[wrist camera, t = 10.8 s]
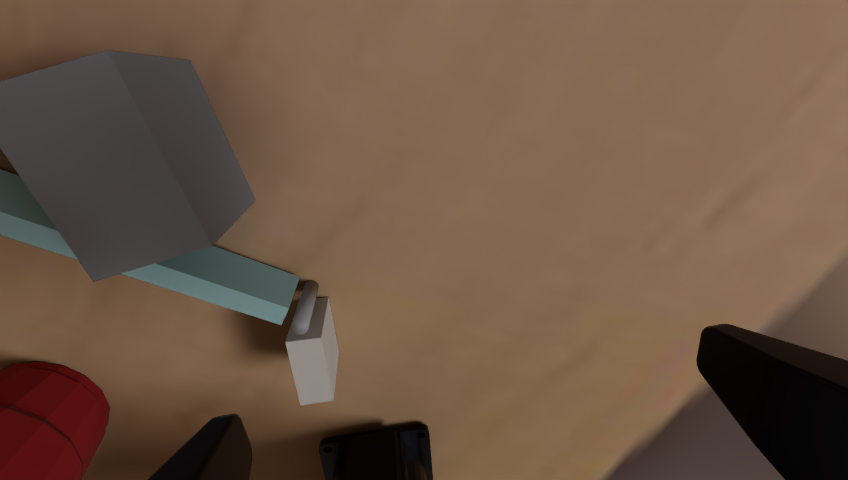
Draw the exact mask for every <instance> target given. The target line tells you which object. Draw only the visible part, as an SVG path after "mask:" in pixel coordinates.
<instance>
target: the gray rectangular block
mask: <svg viewBox="0 0 848 480" xmlns="http://www.w3.org/2000/svg"><path fill="white" fill-rule="evenodd" d="M0 148H1V150H2V151H3V153H4V154H5V156H6V157H7V158H8V160H9V161H10V163H11V164H12V166H13V167H14V169H15V170H16V171H17V173H18V174H19V176H20V177H21V179H22V180H23V181H24V183H25V184H26V186H27V187H28V189H29V190H30V191H31V193H32V194H33V196H34V197H35V199H36V200H37V202H38V203H39V204H40V206H41V207H42V209H43V210H44V212H45V213H46V214H47V216H48V217H49V219H50V220H51V222H52V223H53V224H54V226H55V227H56V229H57V230H58V232H59V233H60V235H61V236H62V237H63V239H64V240H65V242H66V243H67V245H68V246H69V247H70V249H71V250H72V252H73V253H74V255H75V256H76V257H77V259H78V260H79V262H80V263H81V265H82V266H83V268H84V269H85V270H86V272H87V273H88V275H89V276H90V278H91V279H92V280H93V282H95V281H98V280H101V279H105V278H108V277H111V276H115V275H118V274H121V273H125V272H128V271H131V270H135V269H138V268H141V267H144V266H148V265H151V264H154V263H158V262H161V261H164V260H168V259H171V258H174V257H177V256H181V255H184V254H187V253H191V252H194V251H197V250H201V249H204V248H207V247H211V246H213V245H214V243H215V242H216V241H217V240H218V239H219V238H220V237H221V236H222V235H223V234H224V233H225V232H226V231H227V230H228V229H229V228H230V227H231V226H232V225H233V224H234V223H235V221H236V220H237V219H238V218H239V217H240V216H241V215H242V214H243V213H244V212H245V211H246V210H247V209H248V208H249V207H250V206H251V205H252V204H253V203H254V202H255V198H254V196H253V194H252V192H251V189H250V187H249V185H248V183H247V181H246V179H245V176H244V174H243V172H242V170H241V168H240V166H239V163H238V161H237V159H236V157H235V155H234V153H233V151H232V148H231V146H230V144H229V142H228V140H227V138H226V135H225V133H224V131H223V129H222V127H221V125H220V123H219V120H218V118H217V116H216V114H215V112H214V110H213V107H212V105H211V103H210V101H209V99H208V97H207V95H206V92H205V90H204V88H203V86H202V84H201V82H200V79H199V77H198V75H197V73H196V71H195V69H194V67H193V64H192V62H191V60H184V59H175V58H167V57H159V56H151V55H143V54H134V53H126V52H118V51H110V50H106V51H102V52H99V53H96V54H92V55H89V56H85V57H82V58H79V59H75V60H72V61H68V62H65V63H61V64H58V65H55V66H51V67H48V68H44V69H41V70H37V71H34V72H31V73H27V74H24V75H20V76H17V77H14V78H10V79H7V80H3V81H0Z"/></svg>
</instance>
